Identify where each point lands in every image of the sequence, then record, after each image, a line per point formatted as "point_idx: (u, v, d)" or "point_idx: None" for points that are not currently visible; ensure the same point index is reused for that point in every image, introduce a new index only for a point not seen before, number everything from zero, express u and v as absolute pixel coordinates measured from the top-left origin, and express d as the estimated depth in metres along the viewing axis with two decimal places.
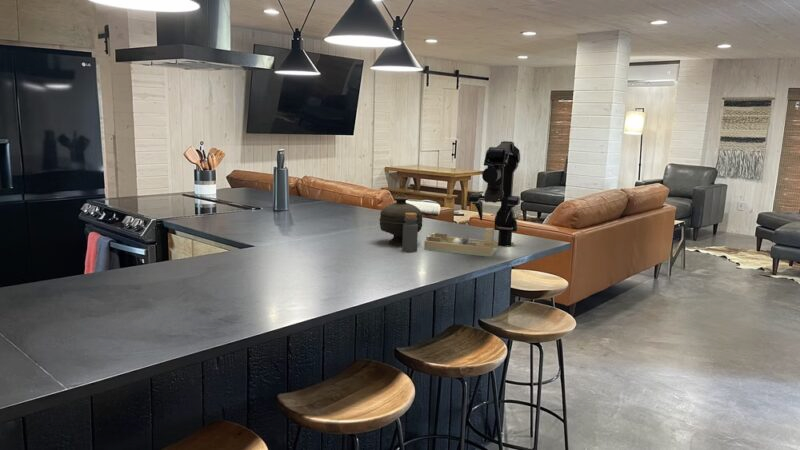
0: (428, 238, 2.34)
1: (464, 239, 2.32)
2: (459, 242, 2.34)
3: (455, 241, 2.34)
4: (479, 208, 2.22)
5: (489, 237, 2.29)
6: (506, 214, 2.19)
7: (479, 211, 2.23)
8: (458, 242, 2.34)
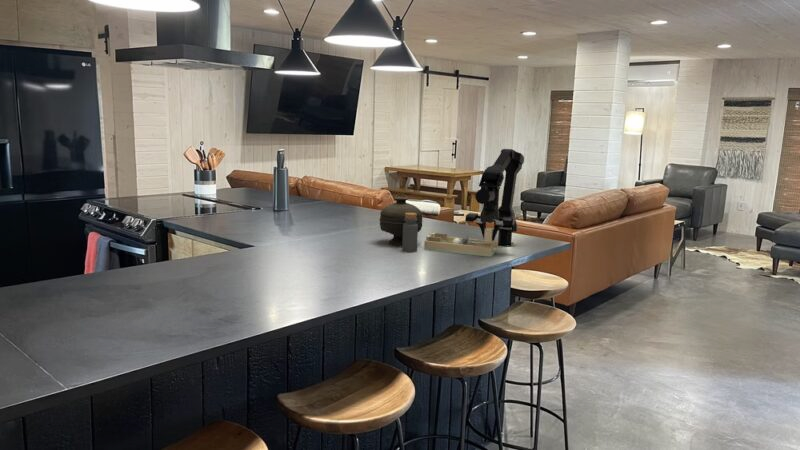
0: (428, 238, 2.34)
1: (464, 239, 2.32)
2: (459, 242, 2.34)
3: (455, 241, 2.34)
4: (483, 228, 2.30)
5: (489, 237, 2.29)
6: (494, 233, 2.29)
7: (483, 231, 2.30)
8: (458, 242, 2.34)
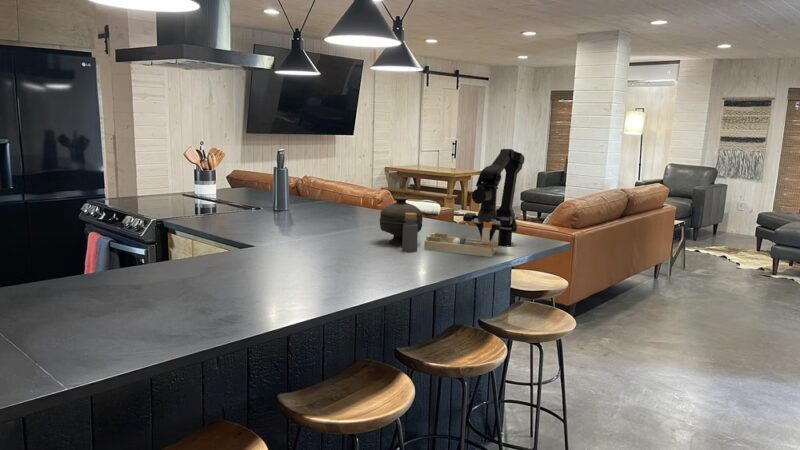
0: (428, 238, 2.34)
1: (462, 239, 2.32)
2: (459, 242, 2.34)
3: (455, 241, 2.34)
4: (480, 228, 2.30)
5: (487, 237, 2.29)
6: (491, 233, 2.29)
7: (480, 231, 2.30)
8: (458, 242, 2.34)
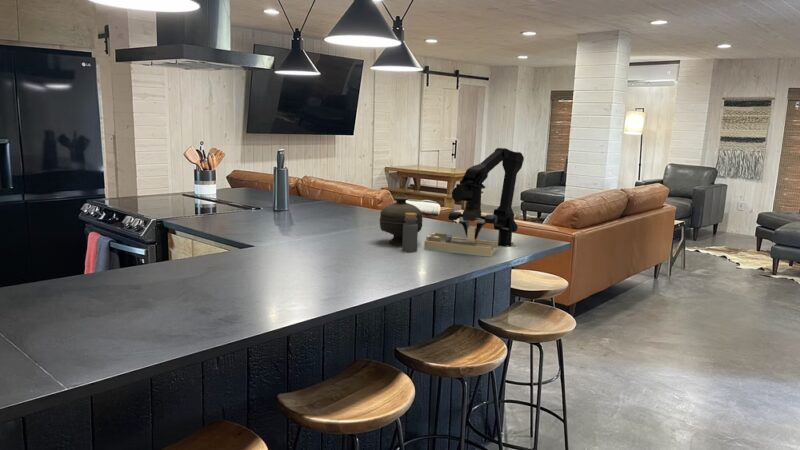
0: (428, 238, 2.34)
1: (447, 237, 2.34)
2: None
3: None
4: (465, 227, 2.32)
5: (472, 235, 2.31)
6: (477, 231, 2.31)
7: (465, 229, 2.32)
8: None
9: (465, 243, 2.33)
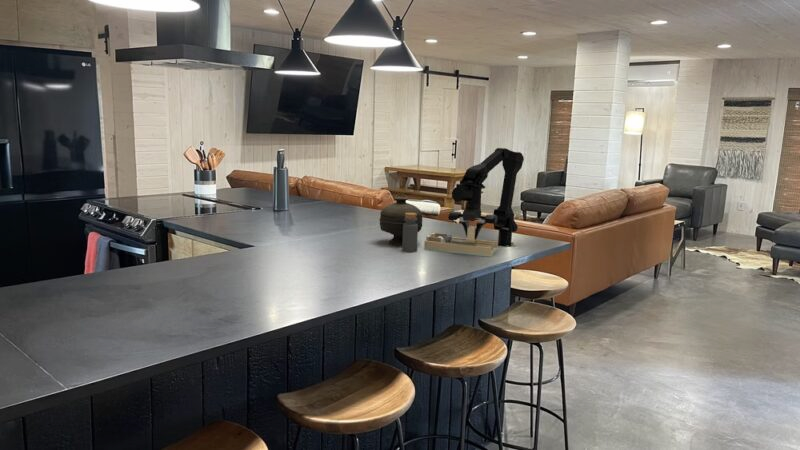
0: (428, 238, 2.34)
1: (447, 237, 2.34)
2: None
3: None
4: (466, 227, 2.32)
5: (472, 235, 2.31)
6: (477, 231, 2.31)
7: (466, 229, 2.32)
8: None
9: (465, 243, 2.33)
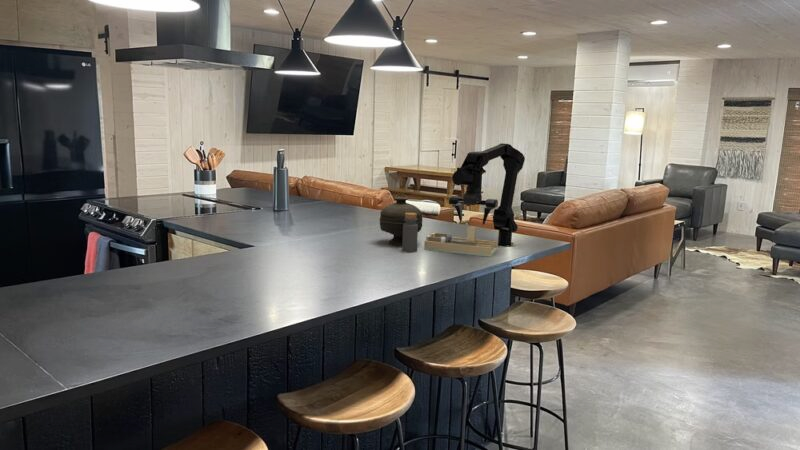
0: (428, 238, 2.34)
1: (447, 237, 2.34)
2: None
3: None
4: (459, 210, 2.32)
5: (472, 235, 2.31)
6: (484, 216, 2.29)
7: (459, 213, 2.32)
8: None
9: (465, 243, 2.33)
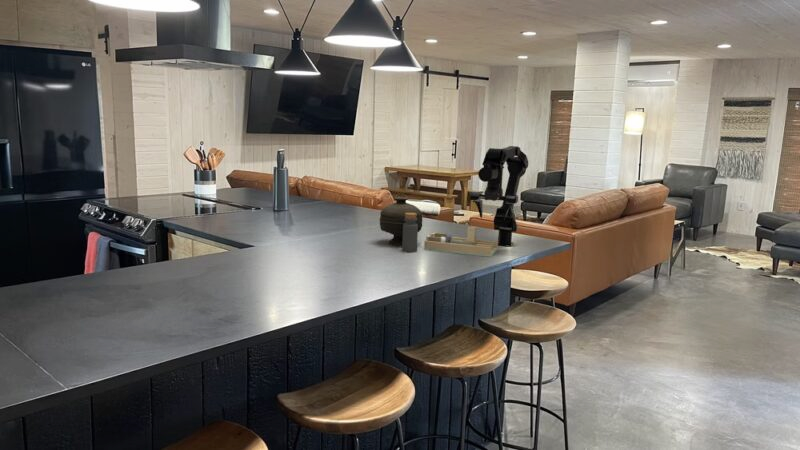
0: (428, 238, 2.34)
1: (447, 237, 2.34)
2: None
3: None
4: (479, 206, 2.34)
5: (472, 235, 2.31)
6: (505, 212, 2.31)
7: (479, 209, 2.34)
8: None
9: (465, 243, 2.33)
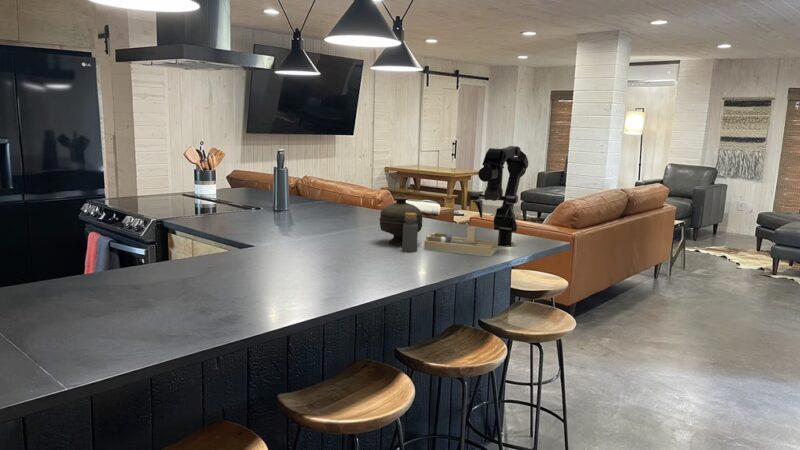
0: (428, 238, 2.34)
1: (447, 237, 2.34)
2: None
3: None
4: (479, 206, 2.34)
5: (472, 235, 2.31)
6: (505, 212, 2.31)
7: (479, 209, 2.34)
8: None
9: (465, 243, 2.33)
